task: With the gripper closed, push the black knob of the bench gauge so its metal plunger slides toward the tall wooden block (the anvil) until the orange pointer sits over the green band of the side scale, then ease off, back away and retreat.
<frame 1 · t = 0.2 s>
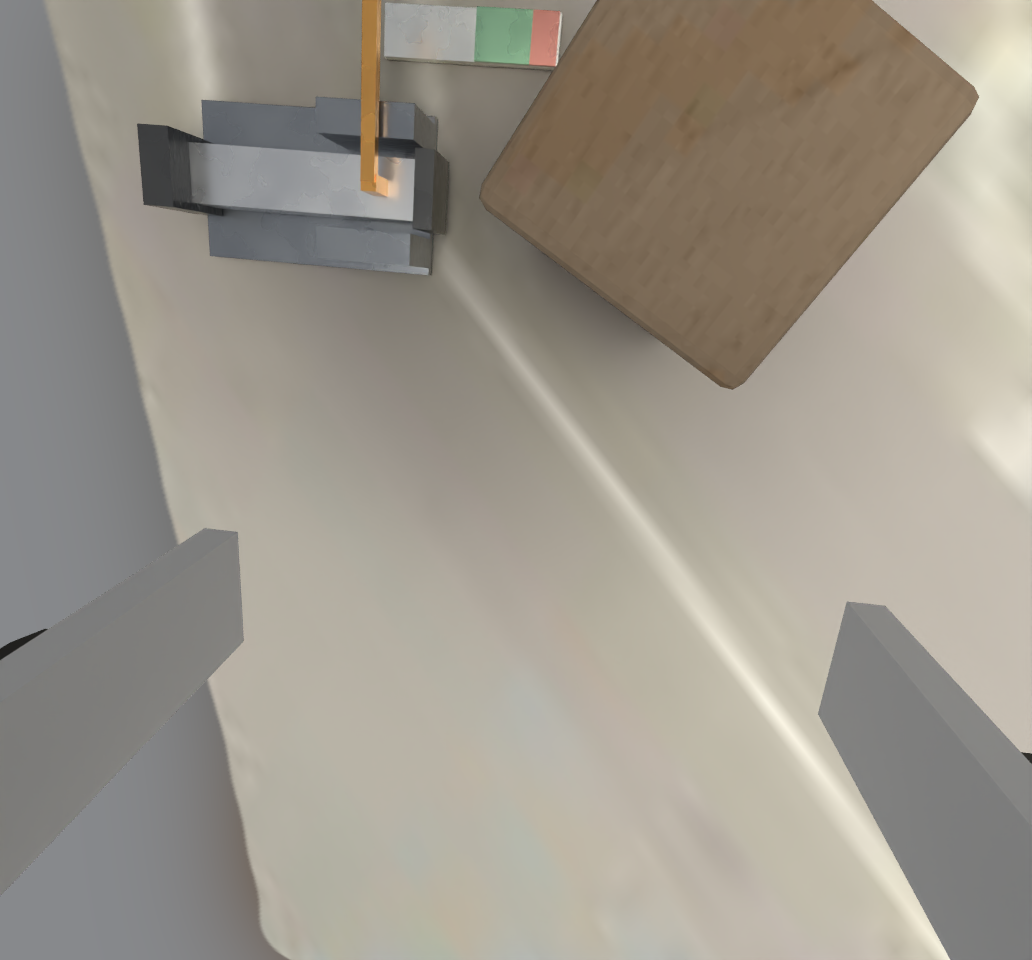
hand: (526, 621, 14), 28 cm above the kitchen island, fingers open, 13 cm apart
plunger: (299, 103, 34), point 4 cm above the kitchen island, slide at 0.0 cm
wooden block: (649, 217, 37), on the kitchen island
gauge housing: (392, 196, 38), on the kitchen island
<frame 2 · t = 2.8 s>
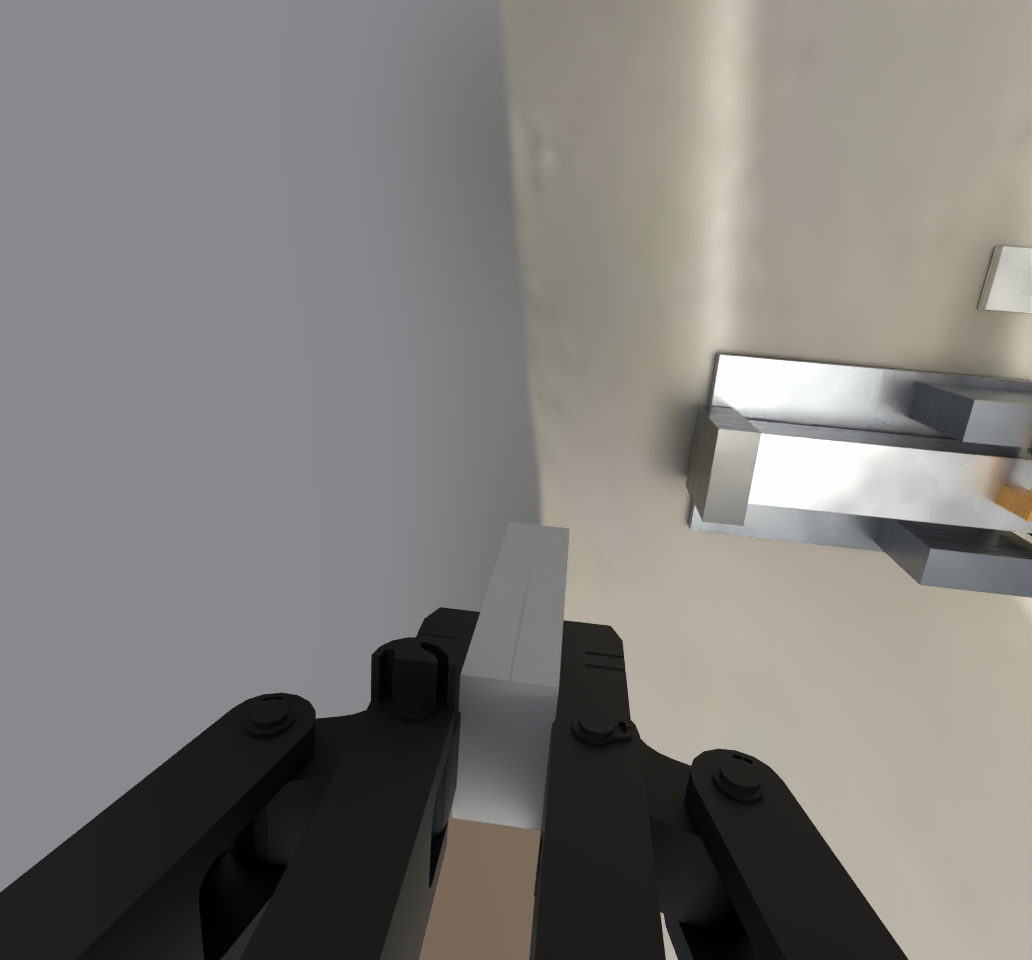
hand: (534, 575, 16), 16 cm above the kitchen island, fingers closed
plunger: (910, 388, 26), point 4 cm above the kitchen island, slide at 0.0 cm
gauge housing: (944, 466, 30), on the kitchen island
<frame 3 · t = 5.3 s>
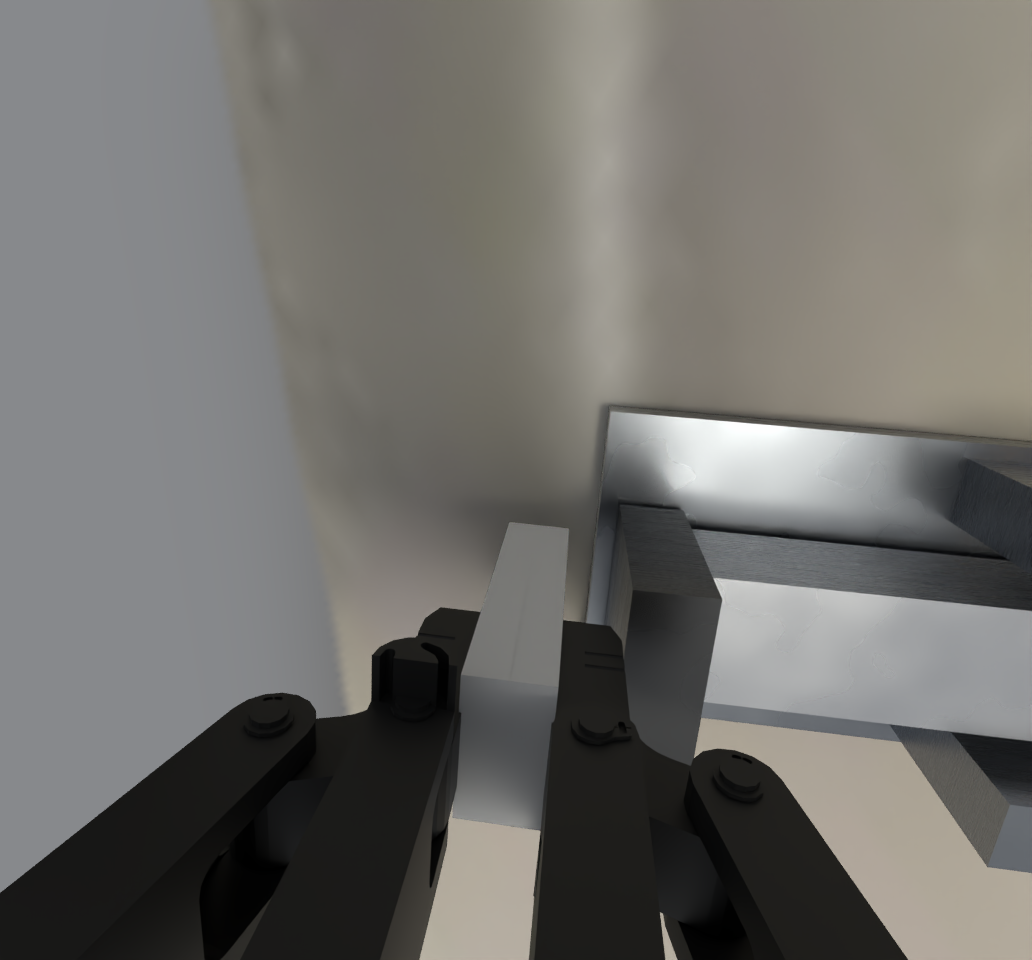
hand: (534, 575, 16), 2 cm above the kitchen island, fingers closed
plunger: (1023, 493, 13), point 4 cm above the kitchen island, slide at 1.1 cm, touching gripper
gauge housing: (1011, 598, 17), on the kitchen island
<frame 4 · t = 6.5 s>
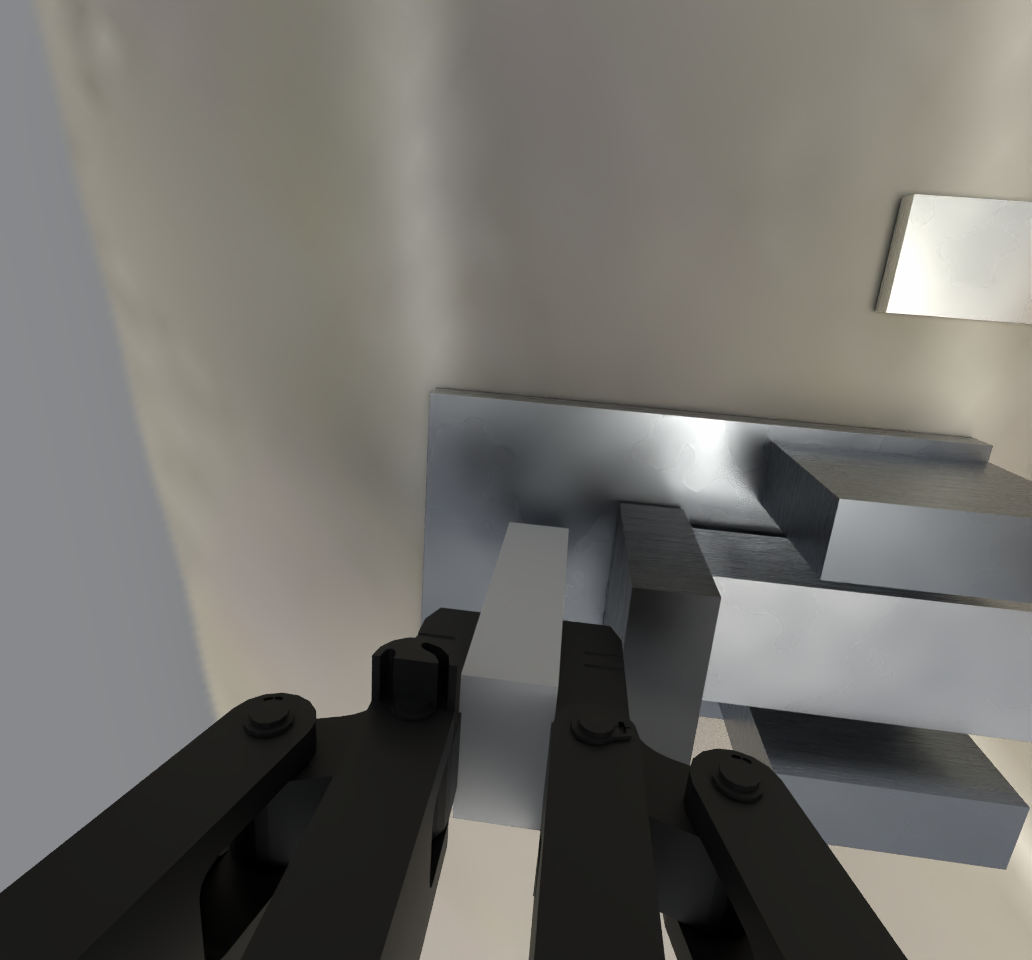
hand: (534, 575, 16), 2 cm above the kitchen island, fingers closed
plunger: (1022, 494, 13), point 4 cm above the kitchen island, slide at 5.6 cm, touching gripper, wooden block
gauge housing: (831, 580, 17), on the kitchen island
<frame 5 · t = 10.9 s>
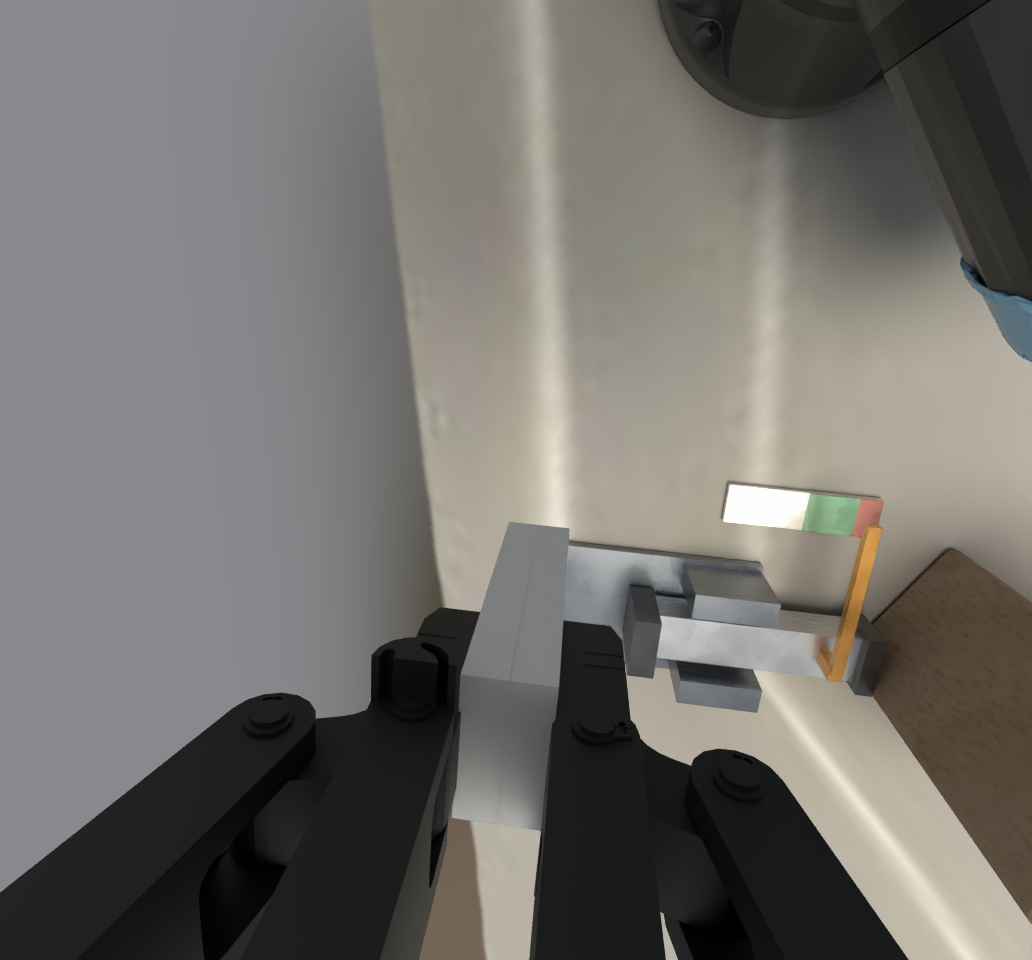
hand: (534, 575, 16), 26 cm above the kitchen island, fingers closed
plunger: (759, 590, 40), point 4 cm above the kitchen island, slide at 5.7 cm
wooden block: (948, 639, 44), on the kitchen island
gauge housing: (711, 613, 45), on the kitchen island
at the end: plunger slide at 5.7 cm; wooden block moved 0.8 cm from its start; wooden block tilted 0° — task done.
